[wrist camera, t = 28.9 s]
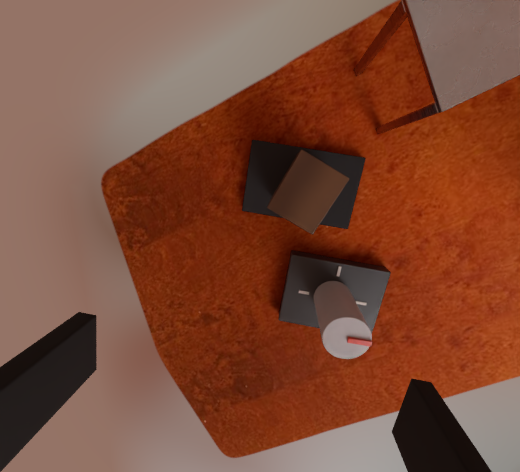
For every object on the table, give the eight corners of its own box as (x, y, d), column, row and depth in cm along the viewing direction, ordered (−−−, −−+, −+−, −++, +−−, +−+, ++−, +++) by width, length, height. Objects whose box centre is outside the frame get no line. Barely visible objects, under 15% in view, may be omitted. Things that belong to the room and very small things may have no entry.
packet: (331, 175, 33) (349, 178, 24) (305, 216, 35) (312, 234, 25) (296, 154, 33) (301, 149, 23) (272, 196, 35) (266, 207, 25)
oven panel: (278, 313, 40) (278, 320, 38) (291, 250, 37) (291, 254, 35) (366, 329, 39) (370, 338, 37) (385, 266, 37) (391, 273, 35)
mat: (243, 209, 37) (242, 210, 35) (253, 140, 34) (252, 139, 33) (345, 227, 36) (347, 229, 35) (363, 158, 34) (365, 157, 32)
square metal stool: (377, 134, 33) (442, 112, 19) (353, 69, 31) (404, -5, 18) (444, 102, 31) (565, 52, 18) (422, 32, 30) (536, -81, 16)
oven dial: (310, 310, 37) (318, 356, 28) (317, 277, 36) (327, 314, 27) (346, 317, 37) (366, 365, 28) (354, 283, 36) (378, 323, 27)
